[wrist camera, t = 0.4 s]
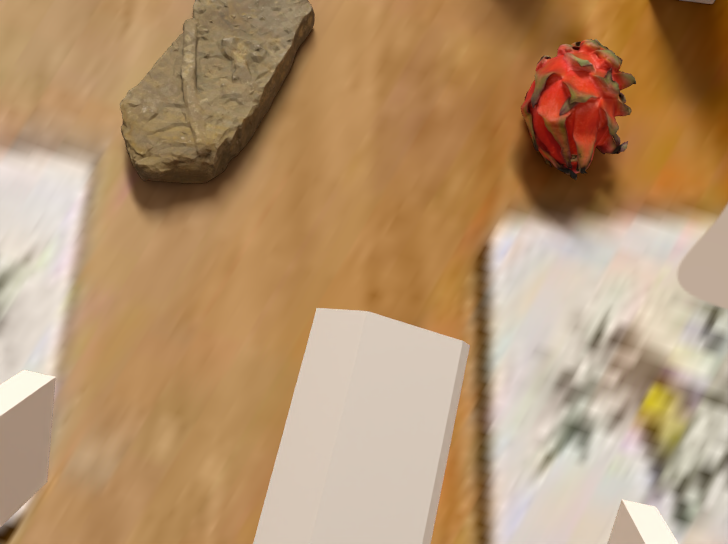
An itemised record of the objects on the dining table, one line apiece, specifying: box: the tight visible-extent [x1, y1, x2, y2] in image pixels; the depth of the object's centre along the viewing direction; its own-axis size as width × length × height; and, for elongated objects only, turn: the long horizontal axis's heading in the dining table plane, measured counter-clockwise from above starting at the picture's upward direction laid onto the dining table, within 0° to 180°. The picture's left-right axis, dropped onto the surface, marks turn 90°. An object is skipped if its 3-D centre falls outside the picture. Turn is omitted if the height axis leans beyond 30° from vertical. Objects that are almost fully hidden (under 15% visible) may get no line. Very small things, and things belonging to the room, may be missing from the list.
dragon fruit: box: [521, 39, 636, 180], centre depth 53 cm, size 8×8×12 cm
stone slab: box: [120, 0, 314, 183], centre depth 56 cm, size 27×12×5 cm, turn 164°
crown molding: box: [253, 308, 470, 544], centre depth 45 cm, size 29×12×4 cm, turn 167°
